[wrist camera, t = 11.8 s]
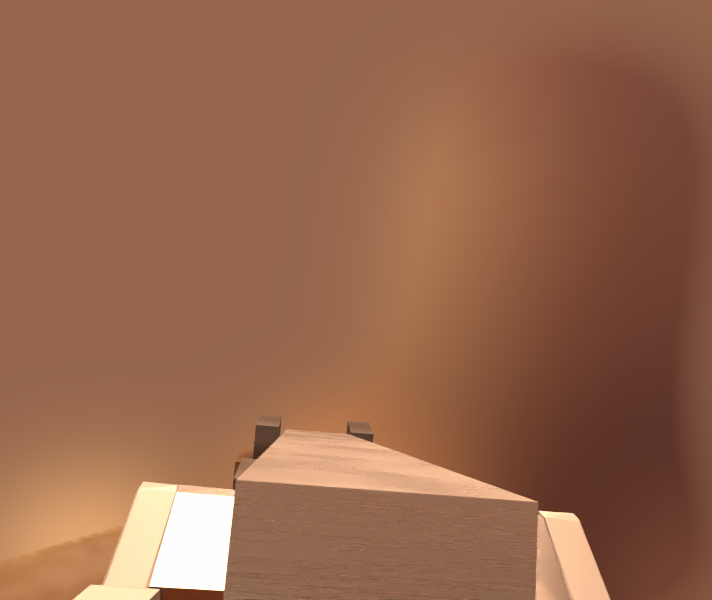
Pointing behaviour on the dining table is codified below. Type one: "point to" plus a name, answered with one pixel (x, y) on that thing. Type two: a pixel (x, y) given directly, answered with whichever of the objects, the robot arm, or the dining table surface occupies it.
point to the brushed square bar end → (373, 528)
